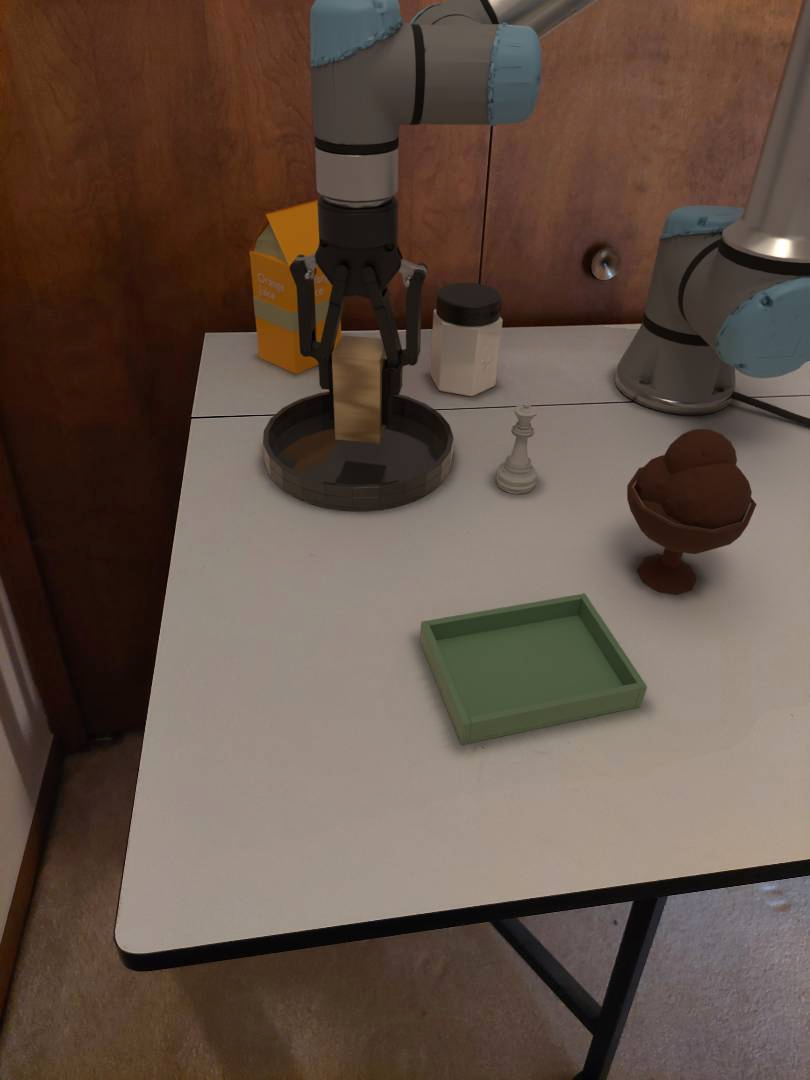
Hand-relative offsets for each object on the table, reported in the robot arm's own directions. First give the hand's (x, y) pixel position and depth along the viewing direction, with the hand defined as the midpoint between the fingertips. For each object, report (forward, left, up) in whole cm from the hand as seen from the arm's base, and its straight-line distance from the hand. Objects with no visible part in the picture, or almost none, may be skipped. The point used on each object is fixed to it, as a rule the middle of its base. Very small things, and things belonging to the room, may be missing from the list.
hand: (361, 416), depth 89 cm
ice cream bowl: (-33, +15, -5) cm, 36 cm away
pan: (0, 0, -5) cm, 5 cm away
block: (0, 0, -2) cm, 2 cm away
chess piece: (-18, +2, -5) cm, 19 cm away
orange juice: (+13, -24, -5) cm, 28 cm away
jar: (-10, -21, -5) cm, 24 cm away
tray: (-20, +30, -5) cm, 36 cm away
